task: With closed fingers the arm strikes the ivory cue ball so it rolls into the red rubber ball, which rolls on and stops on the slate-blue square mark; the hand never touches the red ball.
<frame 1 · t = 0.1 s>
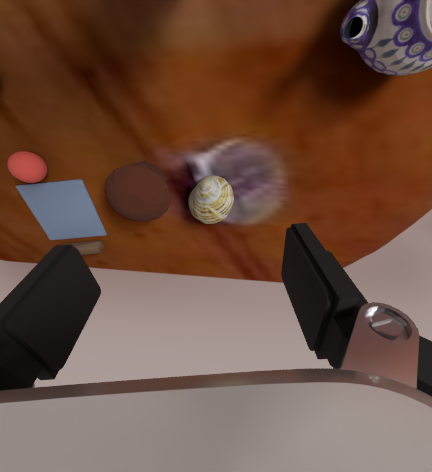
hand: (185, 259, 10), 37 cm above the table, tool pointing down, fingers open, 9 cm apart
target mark: (65, 212, 49), on the table
seashell: (209, 193, 48), on the table
muffin: (146, 182, 46), on the table
red ball: (28, 167, 40), on the table
teapot: (392, 13, 32), on the table
stopper wall: (83, 245, 54), on the table
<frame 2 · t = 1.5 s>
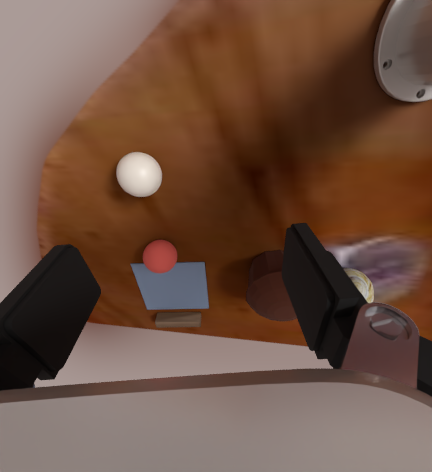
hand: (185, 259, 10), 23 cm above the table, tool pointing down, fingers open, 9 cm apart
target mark: (173, 287, 45), on the table
cue ball: (139, 175, 28), on the table
seashell: (334, 279, 44), on the table
muffin: (272, 266, 42), on the table
red ball: (160, 256, 36), on the table
stopper wall: (179, 314, 51), on the table
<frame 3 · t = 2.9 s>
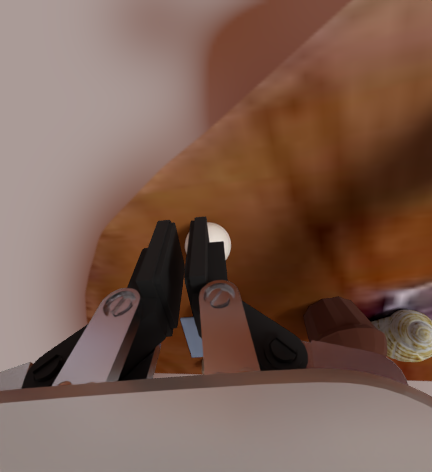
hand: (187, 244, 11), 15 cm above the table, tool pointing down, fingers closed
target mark: (221, 336, 43), on the table
cue ball: (208, 245, 26), on the table
seashell: (389, 318, 42), on the table
muffin: (327, 311, 40), on the table
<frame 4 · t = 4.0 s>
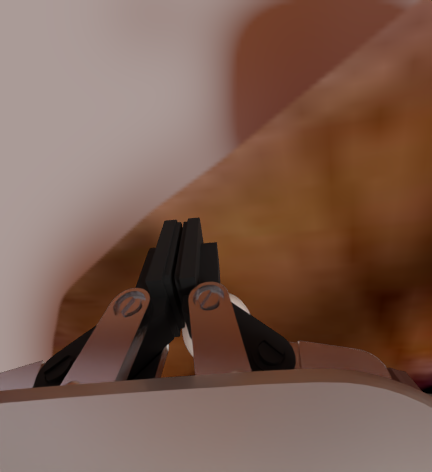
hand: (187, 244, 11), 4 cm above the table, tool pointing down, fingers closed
cue ball: (217, 326, 17), on the table
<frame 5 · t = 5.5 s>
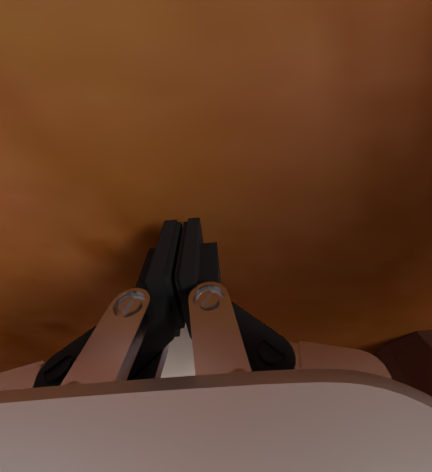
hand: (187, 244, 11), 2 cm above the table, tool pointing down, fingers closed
cue ball: (182, 330, 13), on the table
muffin: (415, 350, 22), on the table
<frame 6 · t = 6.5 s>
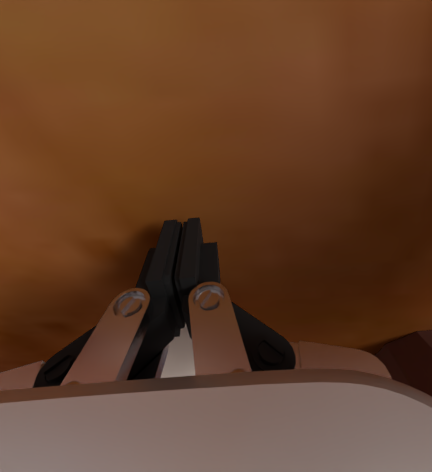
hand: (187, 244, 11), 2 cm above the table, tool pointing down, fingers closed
cue ball: (182, 330, 13), on the table
muffin: (415, 351, 22), on the table
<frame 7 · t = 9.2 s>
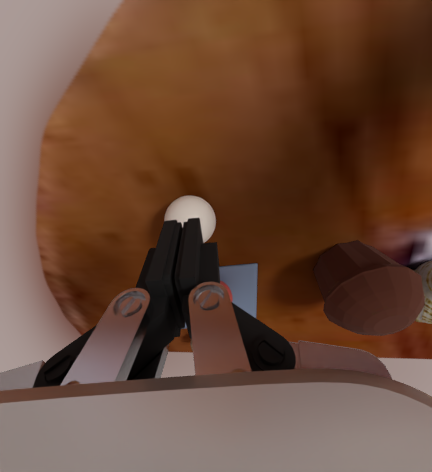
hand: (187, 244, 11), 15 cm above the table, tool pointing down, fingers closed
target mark: (213, 299, 35), on the table
cue ball: (190, 221, 24), on the table
seashell: (412, 276, 35), on the table
muffin: (342, 263, 33), on the table
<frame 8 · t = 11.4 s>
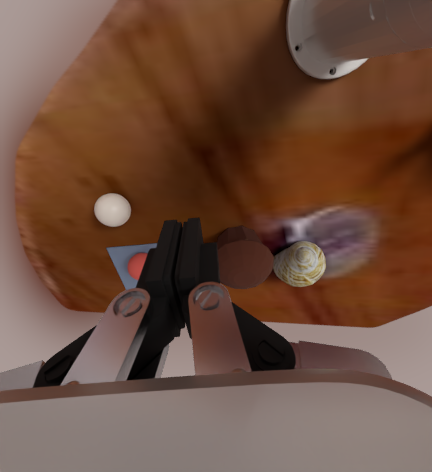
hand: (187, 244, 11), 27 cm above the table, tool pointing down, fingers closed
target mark: (149, 269, 48), on the table
cue ball: (113, 210, 37), on the table
seashell: (293, 254, 48), on the table
muffin: (237, 243, 45), on the table
red ball: (142, 266, 44), on the table
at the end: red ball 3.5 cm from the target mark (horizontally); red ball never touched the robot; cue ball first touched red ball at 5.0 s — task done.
